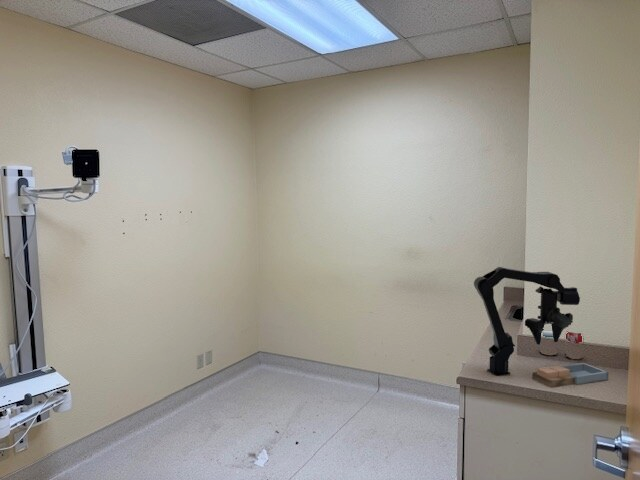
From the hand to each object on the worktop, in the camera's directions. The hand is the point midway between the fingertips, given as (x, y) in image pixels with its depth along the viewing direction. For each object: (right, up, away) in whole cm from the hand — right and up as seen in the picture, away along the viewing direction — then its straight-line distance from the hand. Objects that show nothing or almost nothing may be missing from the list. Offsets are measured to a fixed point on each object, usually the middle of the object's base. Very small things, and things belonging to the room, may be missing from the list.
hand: (547, 343), depth 174 cm
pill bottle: (+13, -11, +24) cm, 30 cm away
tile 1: (-4, -10, -8) cm, 14 cm away
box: (+11, -12, -3) cm, 17 cm away
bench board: (-1, -13, -7) cm, 15 cm away
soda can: (+21, -11, +18) cm, 30 cm away
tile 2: (+1, -10, -6) cm, 12 cm away
